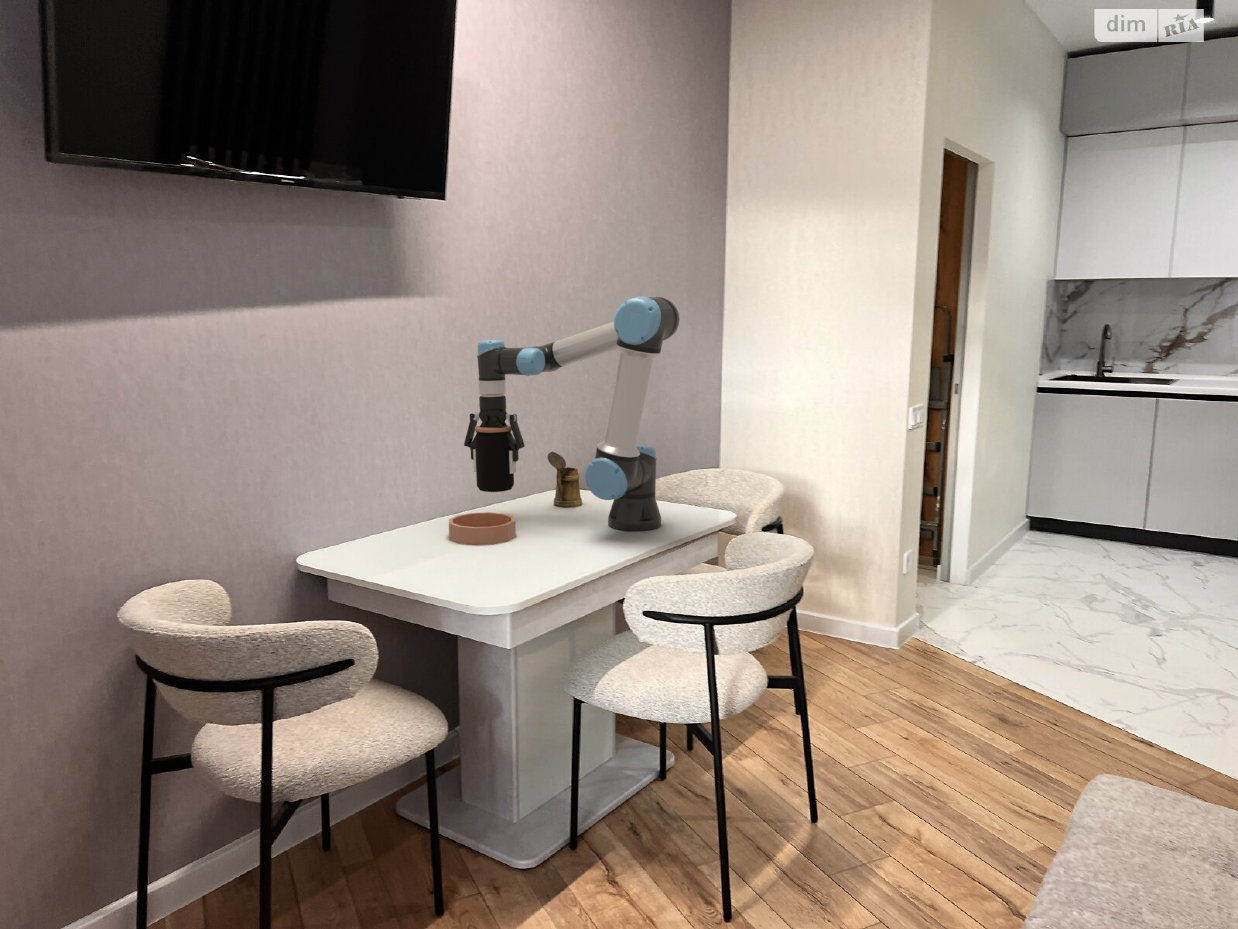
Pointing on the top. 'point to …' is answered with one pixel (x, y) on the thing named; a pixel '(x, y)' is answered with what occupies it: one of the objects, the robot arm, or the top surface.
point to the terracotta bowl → (482, 528)
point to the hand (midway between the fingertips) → (495, 471)
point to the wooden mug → (565, 483)
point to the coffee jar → (493, 459)
